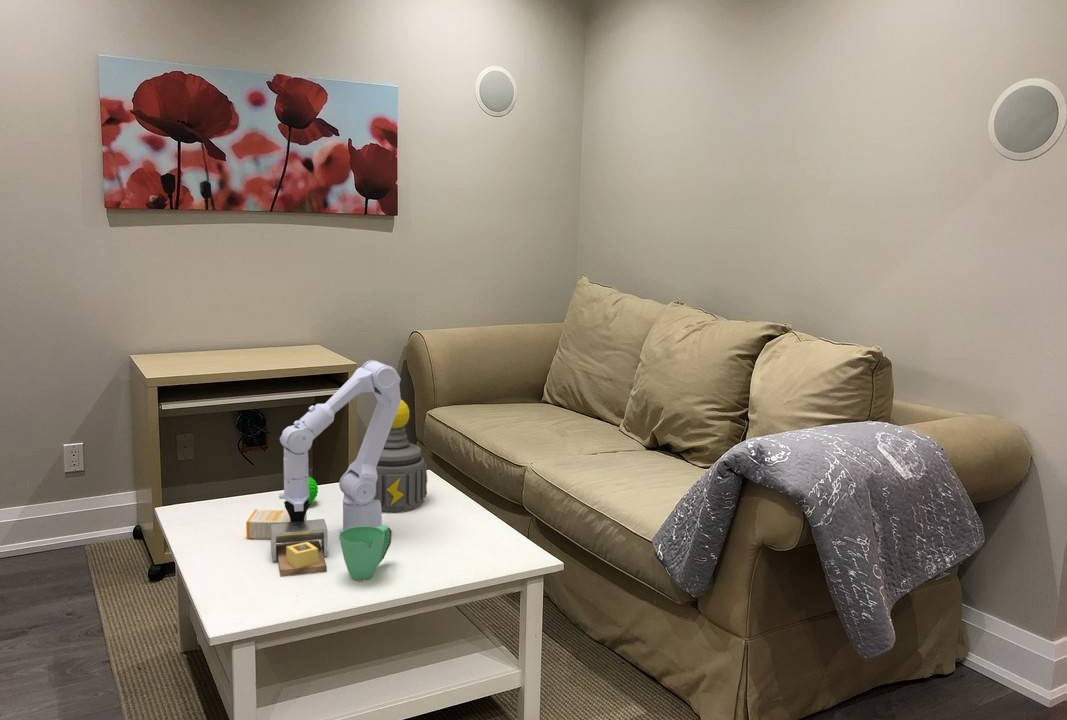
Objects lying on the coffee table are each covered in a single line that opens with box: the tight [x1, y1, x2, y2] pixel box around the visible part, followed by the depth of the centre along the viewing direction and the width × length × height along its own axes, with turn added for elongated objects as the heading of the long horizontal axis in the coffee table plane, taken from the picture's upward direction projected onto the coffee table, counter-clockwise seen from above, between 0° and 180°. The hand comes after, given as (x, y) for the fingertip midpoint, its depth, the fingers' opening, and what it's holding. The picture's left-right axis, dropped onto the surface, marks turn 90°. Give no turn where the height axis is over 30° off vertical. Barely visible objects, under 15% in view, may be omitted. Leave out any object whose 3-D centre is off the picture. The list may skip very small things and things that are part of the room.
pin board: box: [276, 539, 327, 577], centre depth 205 cm, size 10×16×6 cm, turn 19°
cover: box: [270, 518, 329, 562], centre depth 209 cm, size 12×7×7 cm, turn 109°
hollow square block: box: [286, 541, 318, 569], centre depth 200 cm, size 5×5×4 cm
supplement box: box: [245, 508, 308, 540], centre depth 221 cm, size 8×5×13 cm
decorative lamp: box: [374, 399, 428, 513], centre depth 246 cm, size 19×19×30 cm
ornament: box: [308, 476, 319, 505], centre depth 243 cm, size 8×8×10 cm
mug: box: [338, 524, 393, 582], centre depth 199 cm, size 15×10×10 cm
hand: (297, 530), depth 214 cm, fingers closed
